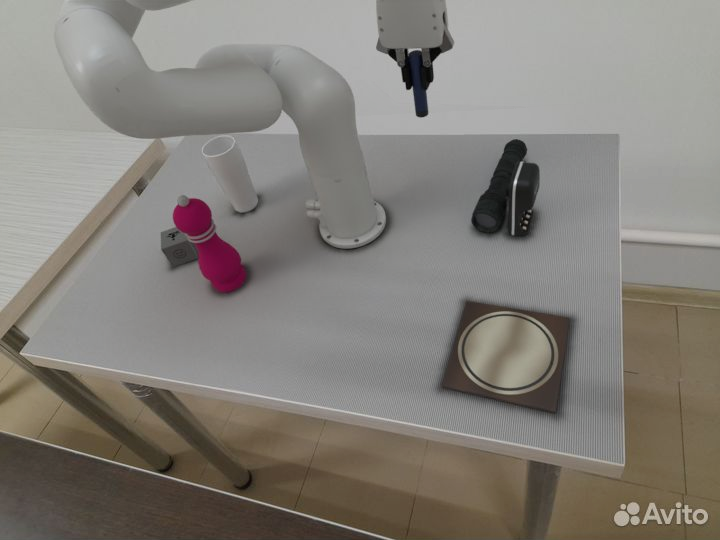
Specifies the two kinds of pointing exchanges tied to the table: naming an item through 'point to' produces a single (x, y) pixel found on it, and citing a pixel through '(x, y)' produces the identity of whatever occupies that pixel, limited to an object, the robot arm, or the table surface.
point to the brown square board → (508, 355)
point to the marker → (418, 84)
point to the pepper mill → (209, 245)
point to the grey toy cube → (177, 247)
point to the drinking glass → (230, 172)
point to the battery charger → (522, 197)
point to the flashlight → (498, 189)
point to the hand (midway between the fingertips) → (418, 84)
